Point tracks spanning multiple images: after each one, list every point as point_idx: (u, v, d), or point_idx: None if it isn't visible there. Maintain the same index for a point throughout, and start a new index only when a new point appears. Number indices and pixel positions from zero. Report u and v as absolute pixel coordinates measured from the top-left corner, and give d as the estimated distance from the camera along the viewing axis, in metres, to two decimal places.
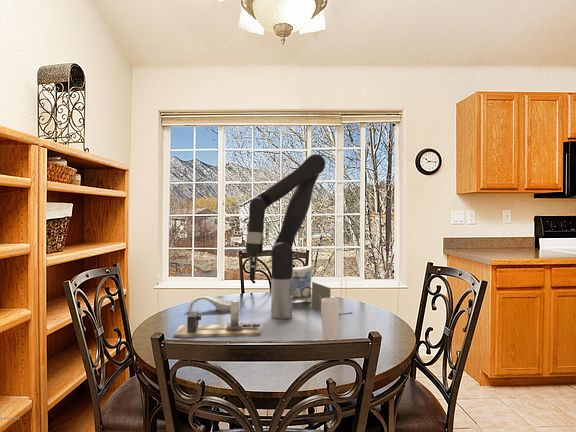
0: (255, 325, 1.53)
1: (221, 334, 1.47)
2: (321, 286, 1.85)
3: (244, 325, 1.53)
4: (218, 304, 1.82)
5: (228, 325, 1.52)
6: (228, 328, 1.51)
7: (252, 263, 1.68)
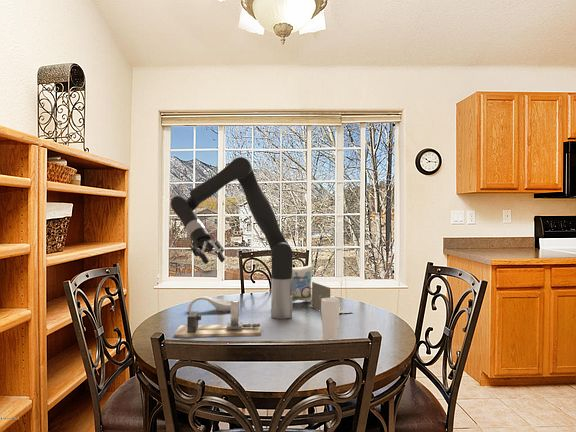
0: (255, 325, 1.53)
1: (221, 334, 1.47)
2: (321, 286, 1.85)
3: (244, 325, 1.53)
4: (217, 304, 1.82)
5: (228, 325, 1.52)
6: (228, 328, 1.51)
7: (193, 249, 1.58)
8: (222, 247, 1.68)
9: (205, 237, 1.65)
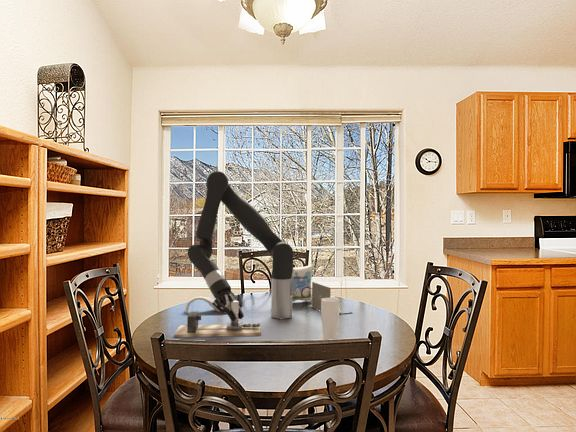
0: (255, 325, 1.53)
1: (221, 334, 1.47)
2: (321, 286, 1.85)
3: (244, 325, 1.53)
4: None
5: (228, 325, 1.52)
6: (228, 328, 1.51)
7: (218, 307, 1.51)
8: (241, 302, 1.58)
9: (226, 289, 1.57)
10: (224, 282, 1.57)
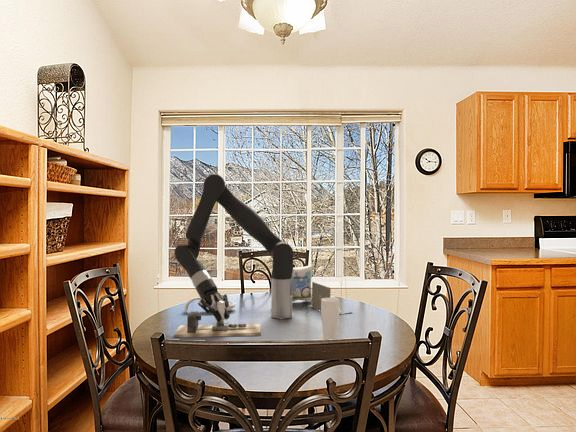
0: (241, 325, 1.53)
1: (221, 334, 1.47)
2: (321, 286, 1.85)
3: (230, 325, 1.53)
4: None
5: (214, 325, 1.51)
6: (214, 328, 1.50)
7: (203, 307, 1.50)
8: None
9: (212, 290, 1.56)
10: (210, 282, 1.56)
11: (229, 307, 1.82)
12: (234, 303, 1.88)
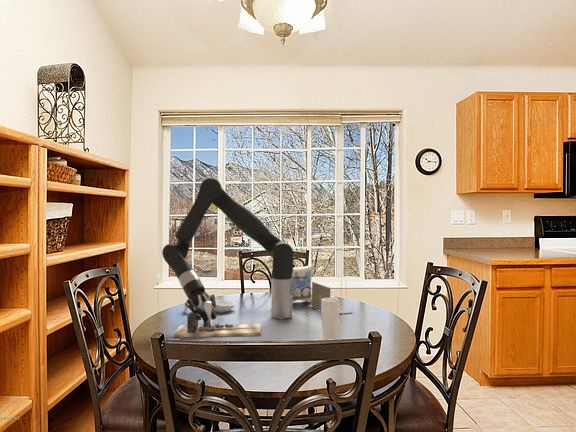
0: (228, 326, 1.52)
1: (221, 334, 1.47)
2: (321, 286, 1.85)
3: (217, 326, 1.52)
4: None
5: (201, 326, 1.51)
6: (200, 329, 1.50)
7: (190, 307, 1.50)
8: (215, 303, 1.57)
9: (199, 290, 1.56)
10: (197, 282, 1.56)
11: (229, 307, 1.82)
12: (233, 303, 1.88)
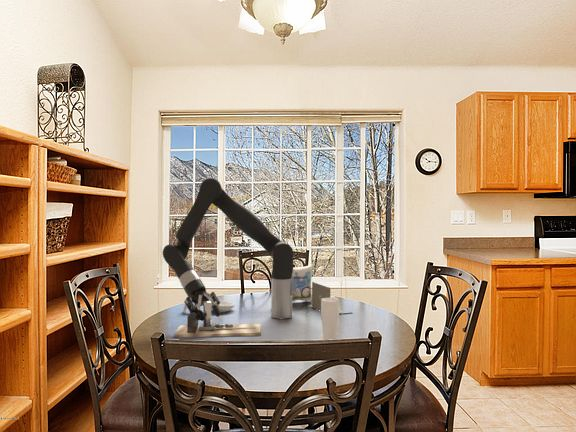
0: (228, 326, 1.52)
1: (221, 334, 1.47)
2: (321, 286, 1.85)
3: (217, 326, 1.52)
4: None
5: (200, 326, 1.51)
6: (200, 329, 1.50)
7: (188, 305, 1.50)
8: None
9: (200, 290, 1.56)
10: (198, 282, 1.56)
11: (228, 307, 1.81)
12: (233, 303, 1.88)
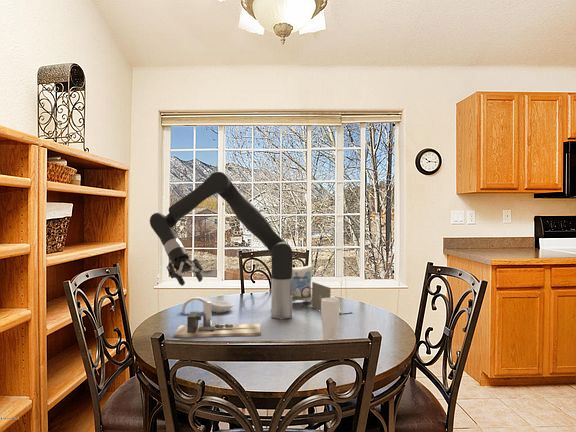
0: (228, 326, 1.52)
1: (221, 334, 1.47)
2: (321, 286, 1.85)
3: (217, 326, 1.52)
4: None
5: (200, 326, 1.51)
6: (200, 329, 1.50)
7: (169, 271, 1.59)
8: None
9: (182, 257, 1.64)
10: (181, 250, 1.64)
11: (226, 308, 1.81)
12: None
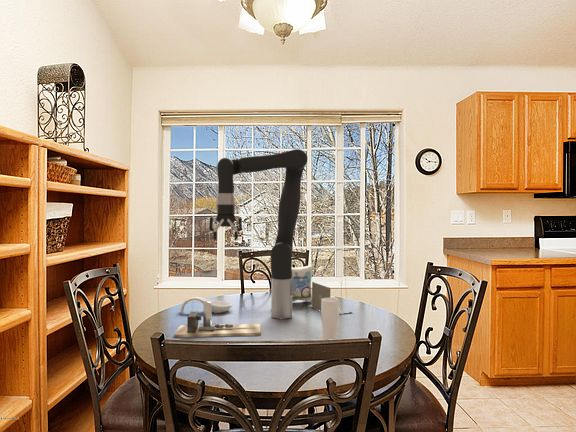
0: (228, 326, 1.52)
1: (221, 334, 1.47)
2: (321, 286, 1.85)
3: (217, 326, 1.52)
4: None
5: (200, 326, 1.51)
6: (200, 329, 1.50)
7: None
8: (241, 226, 1.73)
9: (225, 214, 1.71)
10: (225, 208, 1.70)
11: (225, 308, 1.81)
12: (231, 304, 1.87)
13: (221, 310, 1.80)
